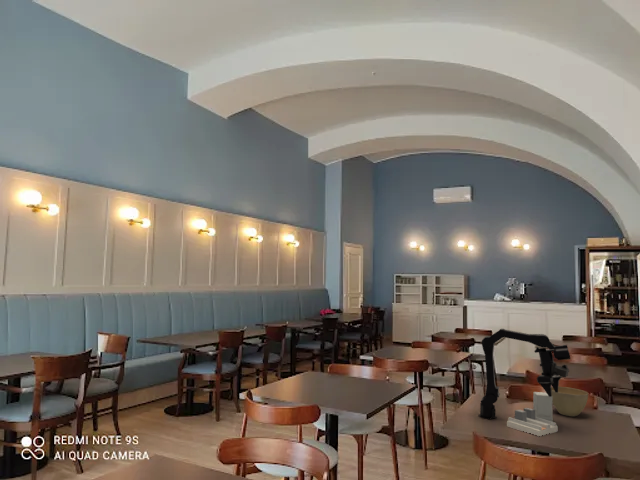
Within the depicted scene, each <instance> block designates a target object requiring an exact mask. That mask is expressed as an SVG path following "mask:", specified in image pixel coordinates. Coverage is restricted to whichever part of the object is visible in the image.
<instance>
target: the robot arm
mask: <svg viewBox="0 0 640 480" xmlns="http://www.w3.org/2000/svg"><path fill="white" fill-rule="evenodd" d="M502 338H506V339H510V340H511V339H512V340H517V341H522V342H525V343H530V344H532V345H535V346H536V348H535V349H534V353H536V354H537V353H538V355H539V356H538V357H539V361H540V363H539V367H541V370H542V371H541V374H540V375H538V376H537V377H536V382H537V383H538V384H539V385H540V386H541V387H542V389H543V390H544V392H545V393H547V394H548V396H549V397H552V390H551V387H553V389H554V391H555V392H558V387H560V386H559V384H560V380H562V378H566V377H568V375H569V373H570V369H569V367H568V365H567V364H562V365H560V366H559V365H557V362H555V361H554V359H556V360H557V361H565V360H569V361H570V360H571V353H570V352H569V348H568V344H563V345H554V343H553V342H551V341H550V338H549V336H548V335H546V334H543V333H527V332H525V333H524V332H520V331H514V330H510V329H505V328H500V329H498V331H496V332H494V333H493V334H492V335H487V336H484V337H483V338H482V340H481V346H482V350H483V354H484V357H485V358H484V359H485V360H484V361H485V373H486V374H485V375H486V389H485V395H484V396H482V398H481V400H480V411H479V412H480V414H478V417H480V418H483V419H487V420H492V419H496V418H497V415H496V412H497V411H496V405H495V404H496V402H497V401H498V398H500V395H501V393H500V386H497V385H496V384H497V383H496V379H495V376H496V375H495V368H494V367H495V366H494V365H495V363H494V352H495V351H494V350H495V343H497V342H498V341H500V340H502ZM539 347H540V348H539ZM553 355H554V356H553Z"/></svg>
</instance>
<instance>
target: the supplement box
mask: <svg viewBox="0 0 640 480" xmlns="http://www.w3.org/2000/svg"><path fill="white" fill-rule="evenodd" d="M532 399H533V401H532V403H533V405H532V406H533V408H532V409H534V410H535V417H537V418H541V419H544V420H548V421H551V422H554V421H553V402H552V397H549V396H548V394H547V393H546V392H541V391H540V392H538V391H533V398H532Z"/></svg>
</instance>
